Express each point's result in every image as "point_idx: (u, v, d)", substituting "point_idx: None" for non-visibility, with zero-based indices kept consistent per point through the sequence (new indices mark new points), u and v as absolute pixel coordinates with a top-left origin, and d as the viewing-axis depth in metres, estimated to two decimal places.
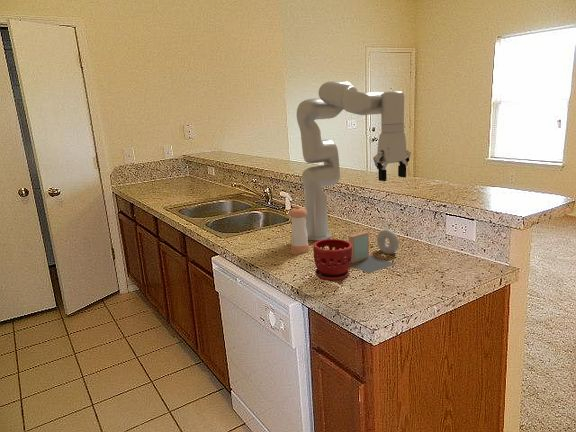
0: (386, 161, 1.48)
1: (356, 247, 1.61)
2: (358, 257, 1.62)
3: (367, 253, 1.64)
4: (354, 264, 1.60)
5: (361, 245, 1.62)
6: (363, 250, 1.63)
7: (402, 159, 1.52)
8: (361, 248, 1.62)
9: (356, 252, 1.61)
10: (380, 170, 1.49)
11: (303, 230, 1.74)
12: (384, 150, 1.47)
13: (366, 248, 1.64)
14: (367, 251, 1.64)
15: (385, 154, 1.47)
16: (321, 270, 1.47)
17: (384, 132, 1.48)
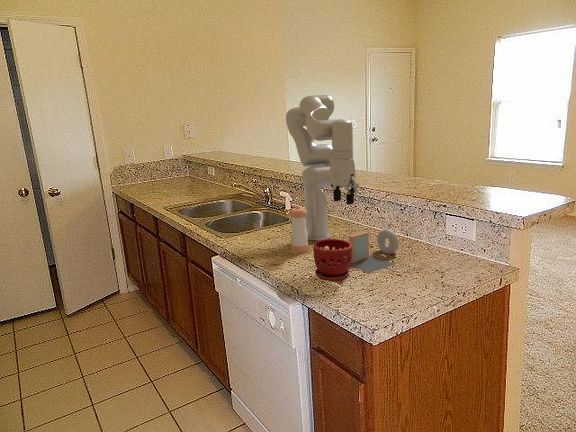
0: None
1: (356, 247, 1.61)
2: (358, 257, 1.62)
3: (367, 253, 1.64)
4: (354, 264, 1.60)
5: (361, 245, 1.62)
6: (363, 250, 1.63)
7: None
8: (361, 248, 1.62)
9: (356, 252, 1.61)
10: (351, 194, 1.61)
11: (303, 230, 1.74)
12: (354, 173, 1.59)
13: (366, 248, 1.64)
14: (367, 251, 1.64)
15: (355, 177, 1.60)
16: (321, 270, 1.47)
17: (349, 157, 1.58)
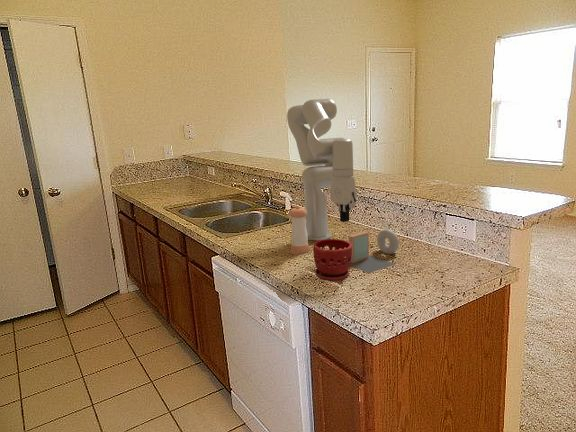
0: (355, 201, 1.62)
1: (356, 247, 1.61)
2: (358, 257, 1.62)
3: (367, 253, 1.64)
4: (354, 264, 1.60)
5: (361, 245, 1.62)
6: (363, 250, 1.63)
7: None
8: (361, 248, 1.62)
9: (356, 252, 1.61)
10: (347, 212, 1.65)
11: (303, 230, 1.74)
12: (355, 191, 1.61)
13: (366, 248, 1.64)
14: (367, 251, 1.64)
15: (355, 195, 1.61)
16: (321, 270, 1.47)
17: (349, 176, 1.60)
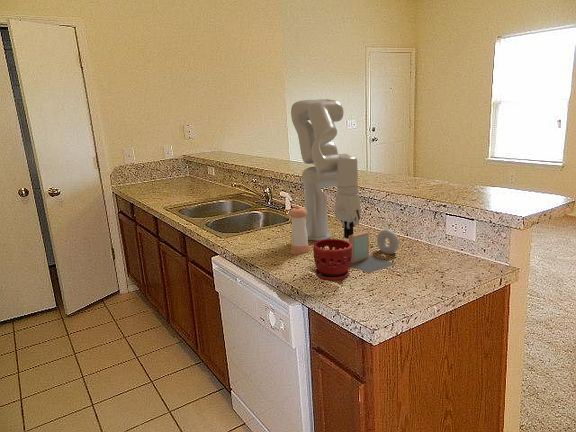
0: None
1: (356, 247, 1.61)
2: (358, 257, 1.62)
3: (367, 253, 1.64)
4: (354, 264, 1.60)
5: (361, 245, 1.62)
6: (363, 250, 1.63)
7: None
8: (361, 248, 1.62)
9: (356, 252, 1.61)
10: (351, 228, 1.65)
11: (303, 230, 1.74)
12: (359, 208, 1.60)
13: (366, 248, 1.64)
14: (367, 251, 1.64)
15: (360, 212, 1.61)
16: (321, 270, 1.47)
17: (354, 193, 1.59)
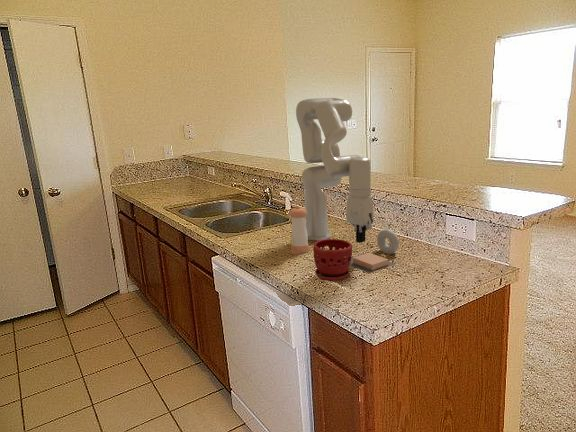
0: None
1: None
2: None
3: None
4: (354, 264, 1.60)
5: None
6: None
7: None
8: None
9: None
10: (363, 232, 1.59)
11: (303, 230, 1.74)
12: (372, 211, 1.55)
13: None
14: None
15: (373, 215, 1.56)
16: (321, 270, 1.47)
17: (366, 196, 1.54)
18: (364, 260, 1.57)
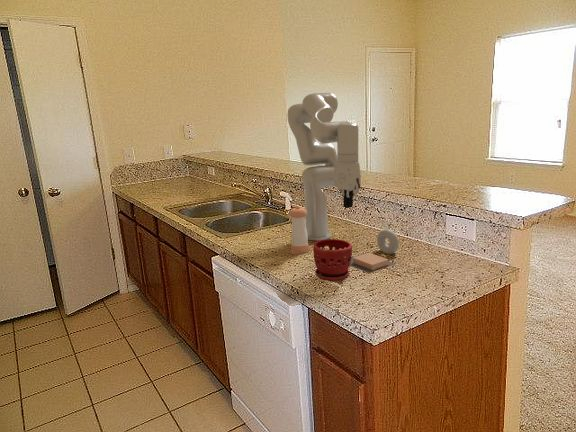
0: None
1: None
2: None
3: None
4: (354, 264, 1.60)
5: None
6: None
7: None
8: None
9: None
10: (350, 198, 1.62)
11: (303, 230, 1.74)
12: (359, 177, 1.57)
13: None
14: None
15: (360, 181, 1.58)
16: (321, 270, 1.47)
17: (354, 161, 1.56)
18: (364, 260, 1.57)
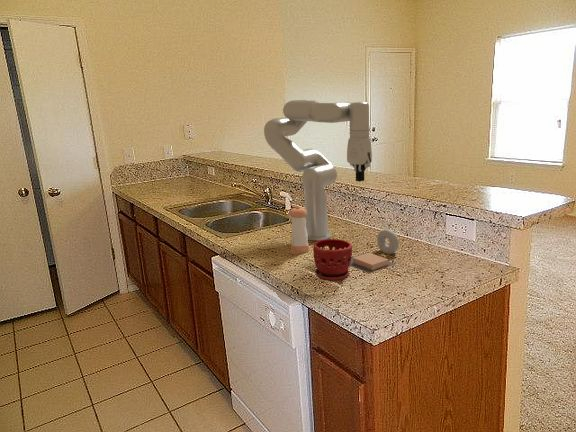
0: None
1: None
2: None
3: None
4: (354, 264, 1.60)
5: None
6: None
7: None
8: None
9: None
10: (362, 172, 1.74)
11: (303, 230, 1.74)
12: (370, 151, 1.70)
13: None
14: None
15: (371, 155, 1.70)
16: (321, 270, 1.47)
17: (365, 137, 1.69)
18: (364, 260, 1.57)
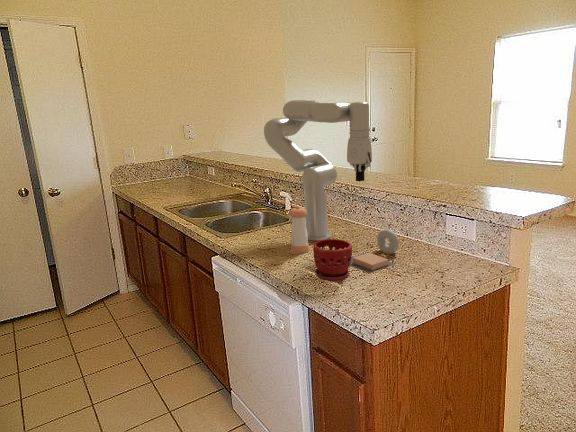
0: None
1: None
2: None
3: None
4: (354, 264, 1.60)
5: None
6: None
7: None
8: None
9: None
10: (362, 172, 1.74)
11: (303, 230, 1.74)
12: (370, 151, 1.70)
13: None
14: None
15: (371, 155, 1.71)
16: (321, 270, 1.47)
17: (365, 137, 1.69)
18: (364, 260, 1.57)
